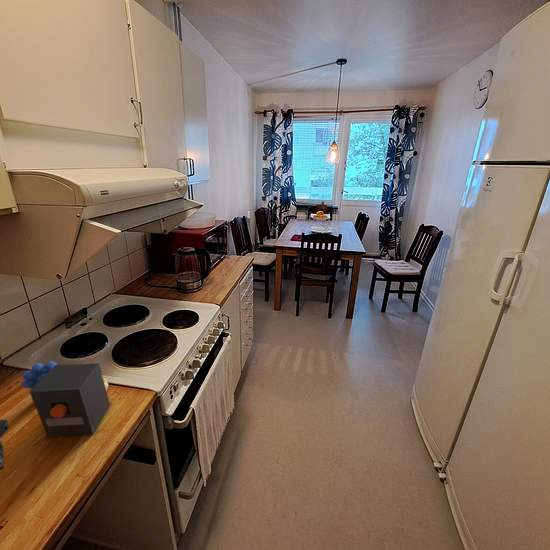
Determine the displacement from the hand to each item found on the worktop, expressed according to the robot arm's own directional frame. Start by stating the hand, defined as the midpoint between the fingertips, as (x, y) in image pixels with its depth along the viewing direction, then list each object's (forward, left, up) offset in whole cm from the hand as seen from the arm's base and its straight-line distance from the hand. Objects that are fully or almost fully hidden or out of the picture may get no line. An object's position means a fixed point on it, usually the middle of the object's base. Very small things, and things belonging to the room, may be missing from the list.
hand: (3, 422), depth 58 cm
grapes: (-3, +33, -21) cm, 39 cm away
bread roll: (+9, +29, -21) cm, 37 cm away
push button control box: (+7, +18, -21) cm, 28 cm away
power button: (+5, +12, -13) cm, 18 cm away
